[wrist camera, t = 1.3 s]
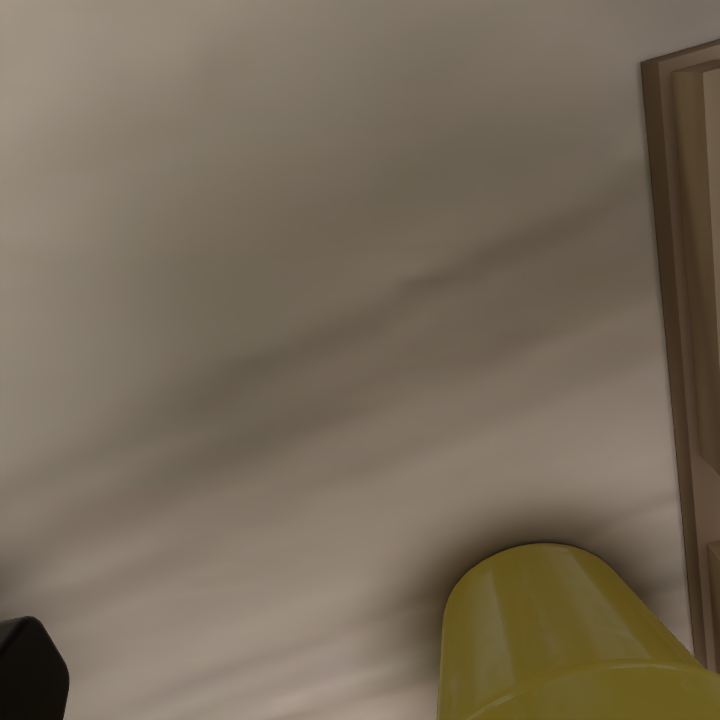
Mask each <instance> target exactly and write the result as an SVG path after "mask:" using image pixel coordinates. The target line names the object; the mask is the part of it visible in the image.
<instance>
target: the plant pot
mask: <svg viewBox="0 0 720 720" xmlns="http://www.w3.org/2000/svg"><path fill="white" fill-rule="evenodd" d="M436 720H720V674H717V673H715V672H712V671H709V670H706V669H705V668H704V667H703V666H702V665H701V664H700V663H699V662H698V661H697V660H696V659H695V658H694V657H693V655H692V654H691V653H690V652H689V651H688V650H687V649H686V648H685V647H684V646H683V645H682V644H681V643H680V642H679V641H678V639H677V638H676V637H675V636H674V635H673V634H672V633H671V632H670V631H669V630H668V629H667V628H666V627H665V626H664V625H663V624H662V622H661V621H660V620H659V619H658V618H657V617H656V616H655V615H654V614H653V613H652V612H651V611H650V609H649V608H648V607H647V606H646V605H645V604H644V603H643V602H642V601H641V600H640V599H639V597H638V596H637V595H636V594H635V593H634V592H633V591H632V590H631V589H630V588H629V587H628V585H627V584H626V583H625V582H624V581H623V580H622V579H621V578H620V577H619V576H618V575H617V574H616V572H615V571H614V570H613V569H612V568H611V567H610V566H609V565H608V564H606V563H605V562H604V561H603V560H601V559H600V558H598V557H597V556H595V555H593V554H591V553H589V552H587V551H585V550H582V549H579V548H576V547H573V546H569V545H563V544H555V543H535V544H528V545H522V546H517V547H514V548H510V549H507V550H504V551H501V552H499V553H497V554H495V555H493V556H490V557H488V558H487V559H485V560H483V561H481V562H480V563H478V564H477V565H476V566H474V567H473V568H472V569H470V570H469V571H468V572H467V573H466V574H465V575H464V576H463V577H462V578H461V579H460V581H459V582H458V583H457V584H456V586H455V587H454V588H453V590H452V592H451V594H450V596H449V598H448V601H447V603H446V607H445V610H444V615H443V624H442V641H441V659H440V673H439V688H438V704H437V719H436Z"/></svg>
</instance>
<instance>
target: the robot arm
mask: <svg viewBox="0 0 720 720" xmlns="http://www.w3.org/2000/svg"><path fill="white" fill-rule="evenodd" d="M68 691H69V672H68V669H67V666H66V663H65V661H64V660H63V658H62V656H61V655H60V653H59V651H58V650H57V648H56V646H55V645H54V643H53V641H52V640H51V638H50V636H49V635H48V633H47V631H46V630H45V628H44V626H43V624H42V623H41V622H40V621H39V620H38V619H36V618H35V617H31V616H25V617H20V618H15V619H11V620H6V621H2V622H0V720H63V718H64V713H65V707H66V702H67V697H68Z"/></svg>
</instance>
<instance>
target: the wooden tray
mask: <svg viewBox="0 0 720 720" xmlns="http://www.w3.org/2000/svg"><path fill="white" fill-rule="evenodd" d="M641 69H642V80H643V91H644V102H645V113H646V124H647V135H648V146H649V157H650V168H651V179H652V190H653V201H654V212H655V223H656V234H657V245H658V256H659V267H660V277H661V288H662V299H663V310H664V321H665V332H666V343H667V354H668V365H669V376H670V387H671V398H672V409H673V420H674V431H675V442H676V453H677V464H678V474H679V485H680V496H681V507H682V518H683V529H684V540H685V551H686V562H687V573H688V584H689V595H690V606H691V617H692V628H693V639H694V650H695V659H696V660H697V661H698V662H699V663H700V664H701V665H702V666H703V667H704V668H705V669H706V670H709V671H712V672H715V673H717V674H720V39H718V40H715V41H711V42H708V43H705V44H701V45H698V46H694V47H691V48H687V49H684V50H681V51H677V52H674V53H670V54H667V55H663V56H660V57H656V58H653V59H650V60H646V61H643V62H641Z"/></svg>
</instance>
